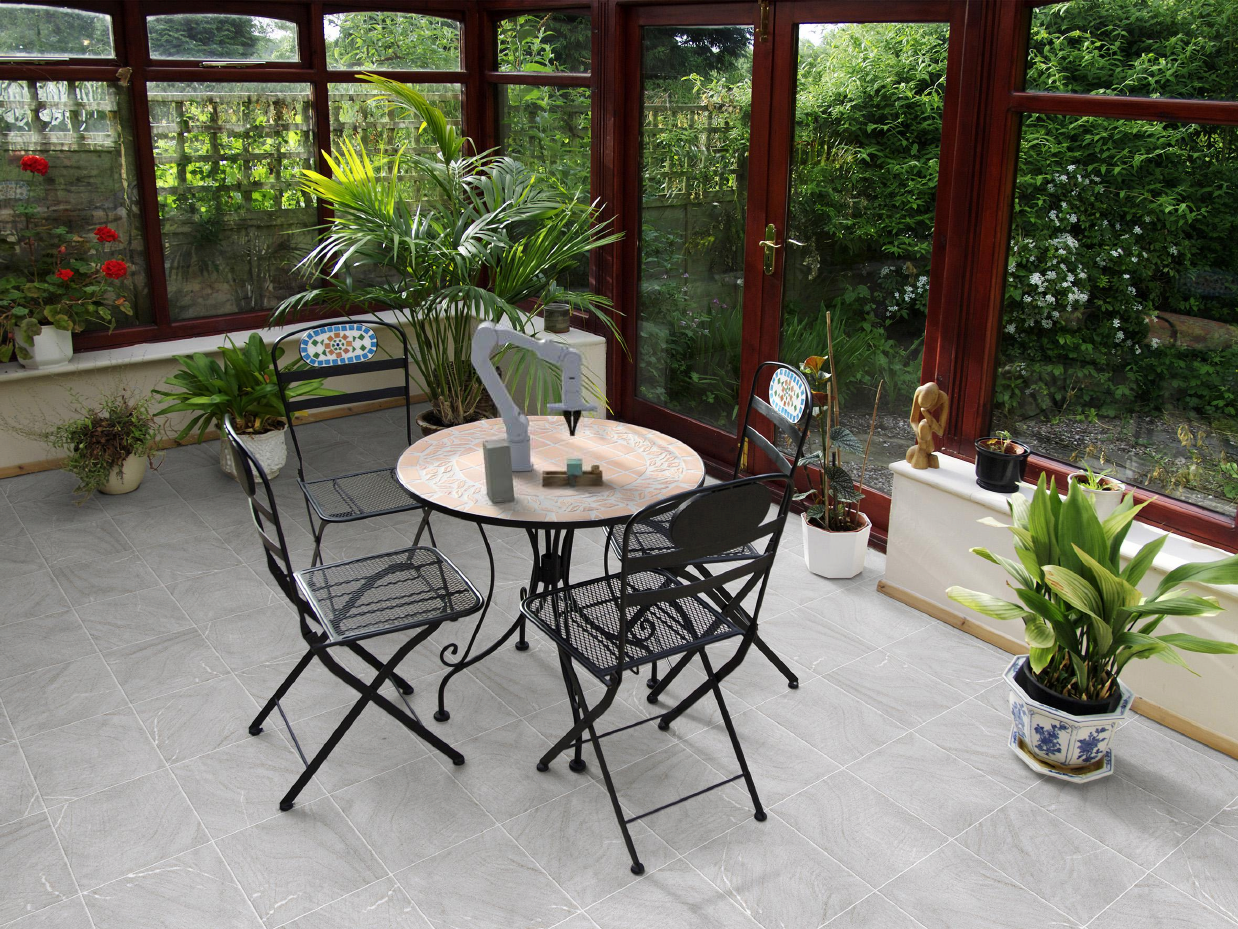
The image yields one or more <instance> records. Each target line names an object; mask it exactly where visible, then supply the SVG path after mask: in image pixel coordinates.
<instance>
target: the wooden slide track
mask: <svg viewBox="0 0 1238 929" xmlns="http://www.w3.org/2000/svg"><path fill="white" fill-rule="evenodd" d="M600 468H601V467H600V465H599V464H592V465H591V466H590V470H586V469H585V470H583V469H582V475H575V474H570V475H567V470H542V473H541V486H542V487H569V488H576V487H603V482H604V480H603V475H604V474H603V470H602V469H600Z"/></svg>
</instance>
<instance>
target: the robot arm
mask: <svg viewBox="0 0 1238 929" xmlns="http://www.w3.org/2000/svg"><path fill="white" fill-rule="evenodd" d="M497 342H498V343H497ZM496 343H497V345H498V346H501V345H506V344H512V345H515V346H518V347H521V348H524V349H527V350H530V351H534V353H535V354H536V356H537V357H538V358H540V359H542V360H544V361H547V362H549V363H552V364H555V365H558V366H562V373H561V374H562V375H561V386H562V387H561V388H562V389H561V390H562V392H561V395H562V396H561V399H562V402H559V403H558V402H557V403H547V405H546V408H547V409H546V412H547V413H551V412H555V413H556V412H562V416H563V418H564V420H565V422H566V425H567V428H568V431H569V437H575V436H576V430H577V427H578V423H579V421H580V419H581V417H582V412H592V413H593V412H594V413H597V412H598V403H587V402H586V403H585V402H583V376H582V366H583V359H582V358H583V357H582V354H581V351H580V350H579V349H577V348H576V347H574V346H569V345H568V344H565V345H563V344H560V343H557V342H555V341H554V339H553V338H551V337H549V338H543V339H541V340H540V339H539V340H538V339H536V338H533V337H531V336H529V335H527V334H524V333H522V332H520V331H517V330H515V329H512V328H511V327H508V326H506V325H503V324H500V323H495V322H493V321H491V320H484V321H482V322H481V323H479V325H478V327H477V329H476V331H475V332H474V335H473V338H472V340H471V349H470V350H471V353H470V361H471V365H472V366H473V368H474V369H475V371H476V373H477V375H478V376H479V378H480V380H481V381H482V382H481V383H483V385H484V386H485V388H486V391H487V392H488V394H489V395H490V397H491V399H492V401H493V404H494V405H495V406H496V408H497V410H498V411H499V414H500V415H501V419H502V422H503V425H504V426H505V434H506V435H505V438H503V439H505V440H506V441H507V442H508V444H509V445H510V452H511V464H512V472H532V471H533V461H531V436H530V434H528V433H529V425H530V421H529V418H528V416H527V415H525V414H524V413H523V412H522V411H521V410H520V409H519V407H518V406H517V404H515V403H514V401H513V399H512V397H511V395H510V394H509V392H508V390H507V388H506V387H505V385H504V382H503V381H502V379H501V378H500V376H499V374H498V372H497V370H496V369H495V366H494V365H493V364H492V360H490V358H489V356H490V354H491V351H492V349H493V348H494V347H495V345H496Z"/></svg>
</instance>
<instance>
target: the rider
mask: <svg viewBox="0 0 1238 929" xmlns="http://www.w3.org/2000/svg"><path fill="white" fill-rule="evenodd" d="M582 470H583V458H566V471H567V475H570V474H575V475H582Z"/></svg>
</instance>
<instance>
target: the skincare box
mask: <svg viewBox="0 0 1238 929" xmlns="http://www.w3.org/2000/svg"><path fill="white" fill-rule="evenodd" d="M482 452H483V454H482V455H483V463H484V473H485V474H484V475H485V476H484V477H485V485H486V495H487V496H488V498H489V500H490V501H491V503H493V504H494V503H503V502H514V501H515V489H514V478H513V476H514V475H513V471H512V464H511V452H510V445H509V444H508V442H507V441H506V440H505V439H504V438H497V439H489V440H483V441H482Z"/></svg>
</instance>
